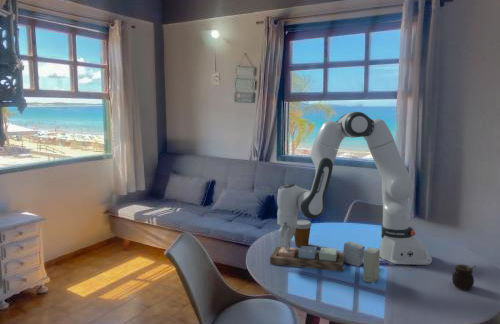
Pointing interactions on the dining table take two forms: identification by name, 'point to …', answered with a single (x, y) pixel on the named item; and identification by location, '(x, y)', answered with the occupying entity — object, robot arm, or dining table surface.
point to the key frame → (308, 261)
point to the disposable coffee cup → (302, 233)
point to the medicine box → (353, 253)
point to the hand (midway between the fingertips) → (287, 249)
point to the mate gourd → (463, 277)
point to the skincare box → (371, 265)
